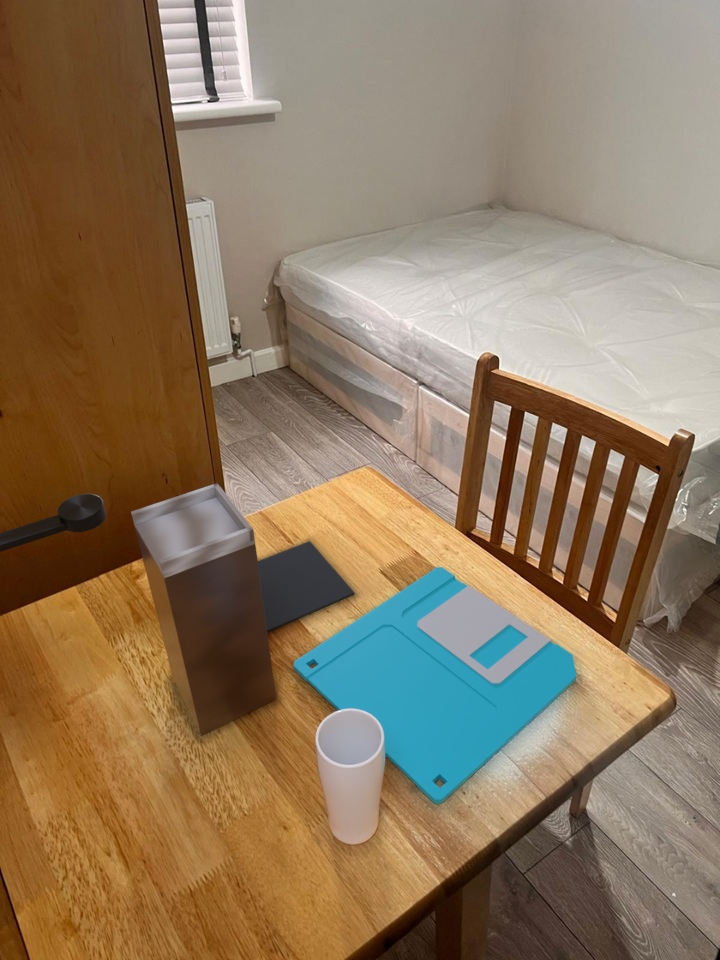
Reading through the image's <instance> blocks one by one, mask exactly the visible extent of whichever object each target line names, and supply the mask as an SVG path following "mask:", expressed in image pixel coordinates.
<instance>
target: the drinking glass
mask: <svg viewBox="0 0 720 960" xmlns="http://www.w3.org/2000/svg"><path fill="white" fill-rule="evenodd" d="M314 740H315V762H316V768H317V775H318V778H319V782H320V787H321V791H322V796H323V799H324V804H325V808H326V812H327V820H328V827H329V830H330V831H331V833H332V835H333V837H335V838H336V839H337V840H338V841H339V842H341V843H343V844H346V845H351V846H352V845H361V844H364V843H365V842H367V841H368V840H369V839H372V837H373V836H374V834H375V833H376V831H377V829H378V826H379V820H380V819H379V818H380V817H379V816H380V815H379V814H380V813H379V812H380V805H381V804H380V803H381V796H382V789H383V783H384V776H385V768H386V756H385V739H384V731H383V728H382V726H381V724H380V723H379V721H378V720H377V719H376V718H375V717H374V716H373V715H371V714H369V713H368V712H366V711H363V710H359V709H342V710H339V711H338V710H336V711H333V712H332V713H330V714H328V715H327V716H326V717H325V718H324V719H323V720H322V721H321V722H320V724H319V725H318V727H317V729H316V733H315V739H314Z"/></svg>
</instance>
